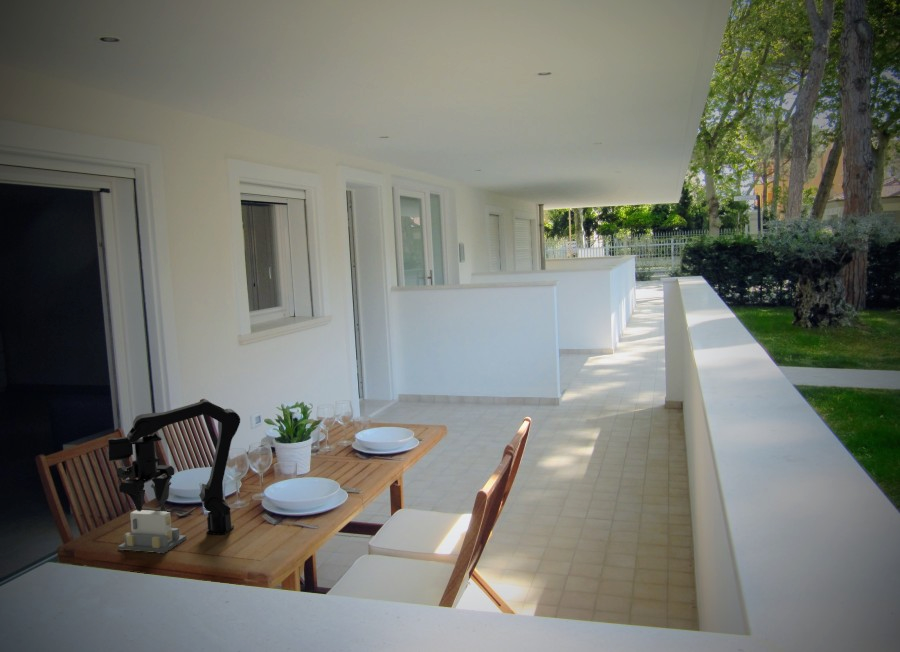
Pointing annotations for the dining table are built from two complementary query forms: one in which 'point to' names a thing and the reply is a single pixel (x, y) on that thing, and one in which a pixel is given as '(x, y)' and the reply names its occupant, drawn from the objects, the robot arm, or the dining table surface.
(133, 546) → the clip plinth
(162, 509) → the sundae
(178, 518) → the dining table surface
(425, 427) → the dining table surface
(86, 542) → the dining table surface
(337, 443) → the dining table surface
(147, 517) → the white rectangular block
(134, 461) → the robot arm
